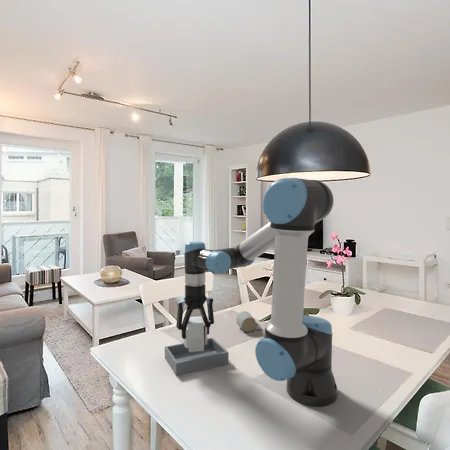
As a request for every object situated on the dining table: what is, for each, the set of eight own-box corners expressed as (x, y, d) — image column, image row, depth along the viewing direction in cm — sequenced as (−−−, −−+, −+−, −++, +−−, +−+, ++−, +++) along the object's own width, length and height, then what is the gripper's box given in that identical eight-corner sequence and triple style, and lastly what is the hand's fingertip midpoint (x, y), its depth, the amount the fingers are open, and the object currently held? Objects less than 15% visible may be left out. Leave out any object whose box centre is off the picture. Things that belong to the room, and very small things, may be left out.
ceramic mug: (242, 333, 147) (242, 317, 146) (236, 327, 154) (236, 311, 154) (263, 331, 150) (263, 315, 150) (256, 325, 158) (256, 309, 157)
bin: (228, 363, 119) (228, 352, 119) (176, 375, 111) (176, 363, 110) (212, 347, 132) (212, 337, 132) (164, 357, 124) (164, 346, 124)
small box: (204, 351, 118) (203, 323, 117) (188, 352, 117) (188, 324, 116) (202, 342, 126) (202, 315, 125) (187, 343, 125) (187, 316, 124)
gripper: (215, 279, 127) (215, 336, 129) (166, 284, 119) (167, 345, 120) (223, 283, 121) (223, 343, 122) (172, 289, 112) (172, 354, 114)
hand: (195, 344), depth 121 cm, fingers closed on small box, 7 cm apart
